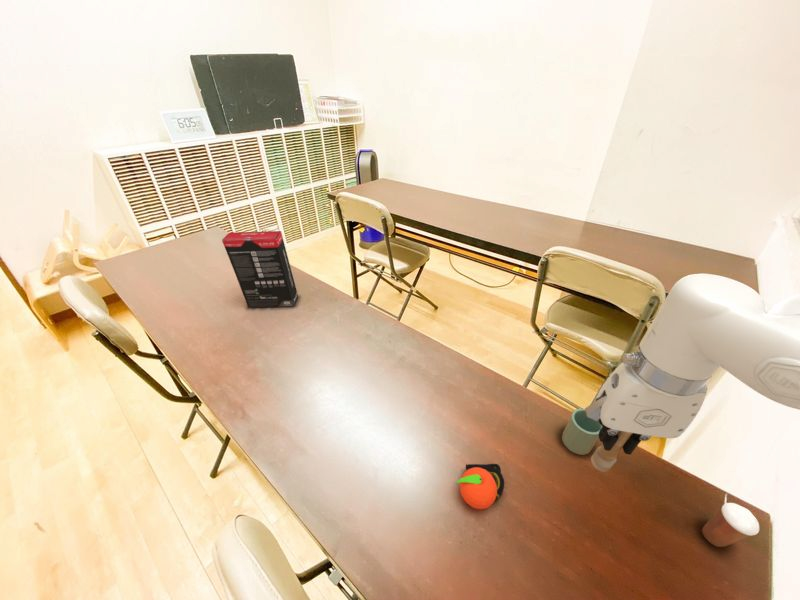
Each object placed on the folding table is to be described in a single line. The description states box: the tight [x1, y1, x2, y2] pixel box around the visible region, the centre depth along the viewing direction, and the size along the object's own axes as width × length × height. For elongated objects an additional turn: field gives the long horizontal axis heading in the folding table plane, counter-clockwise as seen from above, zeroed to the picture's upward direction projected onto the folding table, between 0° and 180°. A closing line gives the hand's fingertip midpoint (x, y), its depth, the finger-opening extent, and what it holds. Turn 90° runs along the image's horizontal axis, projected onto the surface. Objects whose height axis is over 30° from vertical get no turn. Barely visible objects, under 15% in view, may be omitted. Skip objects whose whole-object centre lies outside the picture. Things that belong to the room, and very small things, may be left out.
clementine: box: [454, 467, 497, 510], centre depth 61 cm, size 8×7×7 cm
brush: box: [590, 431, 632, 473], centre depth 52 cm, size 3×3×12 cm
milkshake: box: [701, 493, 760, 548], centre depth 54 cm, size 5×5×10 cm
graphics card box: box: [221, 230, 299, 309], centre depth 109 cm, size 17×7×27 cm, turn 92°
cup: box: [561, 408, 602, 456], centre depth 69 cm, size 6×6×8 cm
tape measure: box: [465, 463, 505, 503], centre depth 64 cm, size 7×7×4 cm
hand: (614, 443), depth 52 cm, fingers closed on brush, 2 cm apart
